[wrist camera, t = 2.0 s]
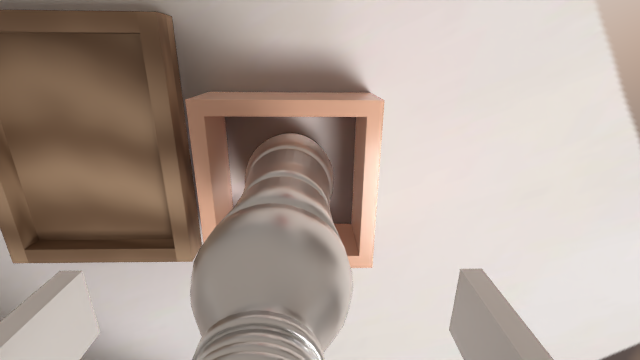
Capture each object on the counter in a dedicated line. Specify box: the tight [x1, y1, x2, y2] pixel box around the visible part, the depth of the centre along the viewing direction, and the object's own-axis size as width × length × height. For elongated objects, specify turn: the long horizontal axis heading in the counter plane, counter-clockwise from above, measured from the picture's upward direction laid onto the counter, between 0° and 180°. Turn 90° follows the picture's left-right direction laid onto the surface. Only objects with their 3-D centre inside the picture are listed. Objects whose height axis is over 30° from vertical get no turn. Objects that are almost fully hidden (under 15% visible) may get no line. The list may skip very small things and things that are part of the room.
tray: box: [0, 10, 202, 263], centre depth 25 cm, size 18×14×2 cm
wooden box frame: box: [185, 92, 384, 268], centre depth 25 cm, size 12×12×5 cm
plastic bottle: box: [190, 133, 353, 360], centre depth 17 cm, size 6×7×20 cm
